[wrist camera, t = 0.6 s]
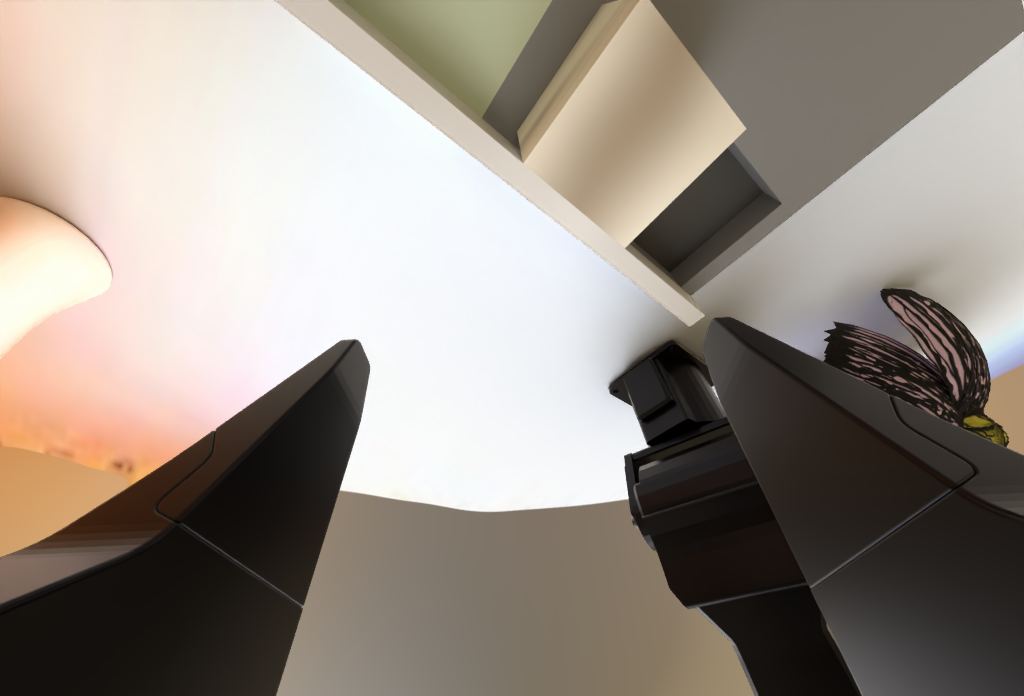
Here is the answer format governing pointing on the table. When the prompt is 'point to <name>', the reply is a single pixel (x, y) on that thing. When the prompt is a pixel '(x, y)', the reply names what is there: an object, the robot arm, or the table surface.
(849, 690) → the robot arm
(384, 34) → the trap deck
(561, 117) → the ivory block
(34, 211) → the beer glass
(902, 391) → the decorative flower
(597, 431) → the table surface
